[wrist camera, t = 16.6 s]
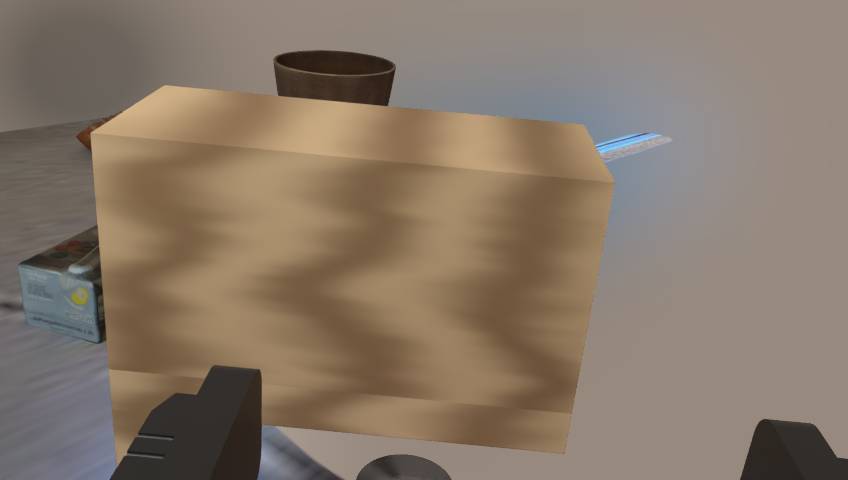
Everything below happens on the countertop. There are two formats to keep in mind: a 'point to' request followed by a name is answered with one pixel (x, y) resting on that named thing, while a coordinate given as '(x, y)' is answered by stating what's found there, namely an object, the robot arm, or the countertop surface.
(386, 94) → the plant pot
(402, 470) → the dark gray cylinder
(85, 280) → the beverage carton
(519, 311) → the wooden l-shaped block
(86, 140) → the fruit slice
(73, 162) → the countertop surface
